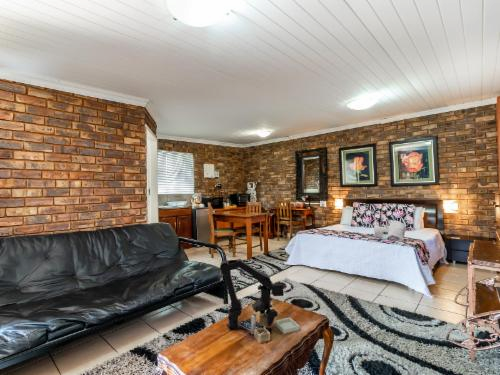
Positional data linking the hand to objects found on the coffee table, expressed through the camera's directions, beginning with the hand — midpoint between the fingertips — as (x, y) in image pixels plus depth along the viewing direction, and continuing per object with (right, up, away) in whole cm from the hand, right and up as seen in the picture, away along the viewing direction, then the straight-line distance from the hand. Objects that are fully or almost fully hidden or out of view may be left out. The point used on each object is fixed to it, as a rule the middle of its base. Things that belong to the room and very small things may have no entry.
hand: (266, 322), depth 161 cm
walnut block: (0, -2, 0) cm, 2 cm away
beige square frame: (-3, -2, -13) cm, 14 cm away
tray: (+12, -2, -2) cm, 12 cm away
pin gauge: (-8, -2, -8) cm, 11 cm away
